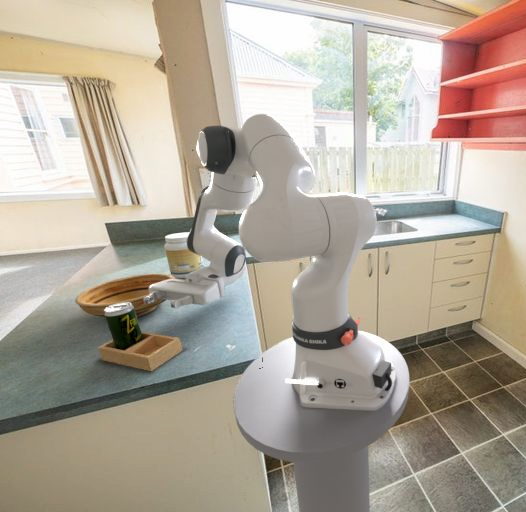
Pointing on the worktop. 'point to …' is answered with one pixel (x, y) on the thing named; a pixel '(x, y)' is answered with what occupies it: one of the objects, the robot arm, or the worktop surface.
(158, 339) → the socket base
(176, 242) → the supplement tub
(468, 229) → the worktop surface
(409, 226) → the worktop surface
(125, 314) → the beer can
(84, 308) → the tan oval bowl
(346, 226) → the robot arm
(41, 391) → the worktop surface
